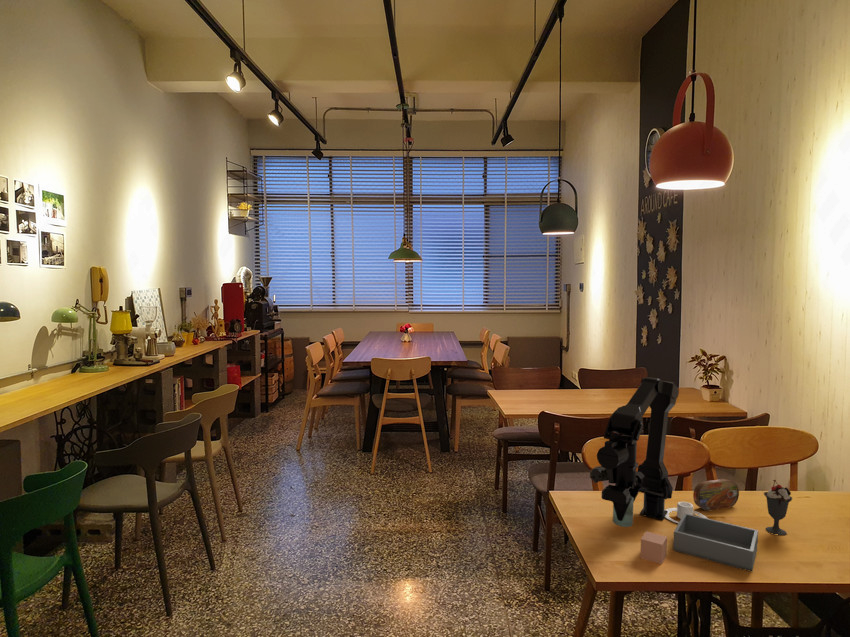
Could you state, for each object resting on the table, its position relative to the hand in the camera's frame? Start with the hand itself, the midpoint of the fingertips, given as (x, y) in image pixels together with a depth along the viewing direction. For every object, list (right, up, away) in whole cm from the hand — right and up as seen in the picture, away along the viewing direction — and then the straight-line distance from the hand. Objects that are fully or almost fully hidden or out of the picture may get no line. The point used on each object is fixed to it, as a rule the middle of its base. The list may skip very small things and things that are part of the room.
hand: (622, 516), depth 145 cm
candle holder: (+23, -6, +14) cm, 27 cm away
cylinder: (0, -2, 0) cm, 2 cm away
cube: (+5, -7, -9) cm, 12 cm away
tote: (+22, -7, -5) cm, 23 cm away
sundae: (+44, -6, +5) cm, 44 cm away
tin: (+36, -5, +21) cm, 41 cm away
